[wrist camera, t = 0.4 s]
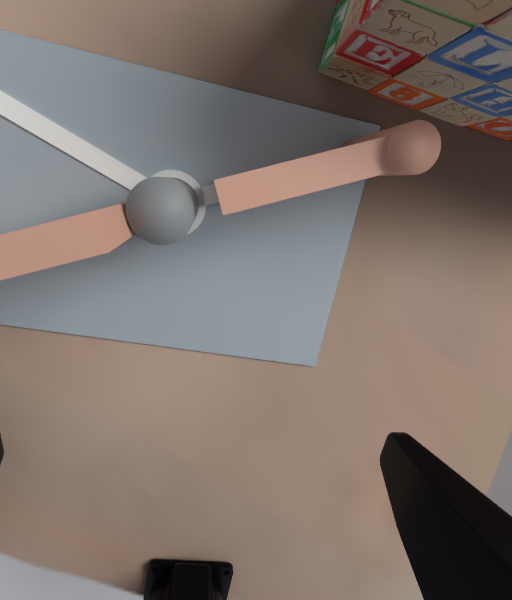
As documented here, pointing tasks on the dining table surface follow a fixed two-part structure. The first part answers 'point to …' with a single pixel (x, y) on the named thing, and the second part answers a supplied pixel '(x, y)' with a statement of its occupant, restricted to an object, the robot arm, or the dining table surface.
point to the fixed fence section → (335, 167)
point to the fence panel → (103, 228)
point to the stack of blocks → (429, 57)
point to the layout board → (177, 164)
